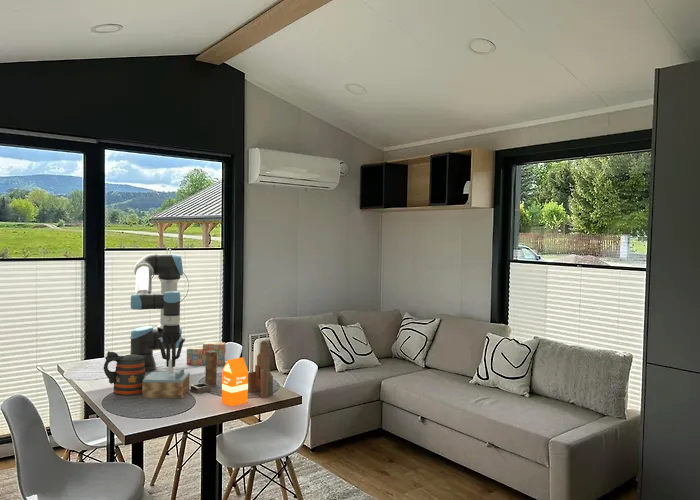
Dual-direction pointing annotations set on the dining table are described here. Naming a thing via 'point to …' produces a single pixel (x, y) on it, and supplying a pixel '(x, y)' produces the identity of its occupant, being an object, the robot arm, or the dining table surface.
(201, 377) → the dining table surface
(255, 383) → the wooden toy
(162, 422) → the dining table surface
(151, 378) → the lid
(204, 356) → the stack of blocks
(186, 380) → the toolbox
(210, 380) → the pin
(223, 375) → the orange juice
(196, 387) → the socket
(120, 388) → the beer stein
